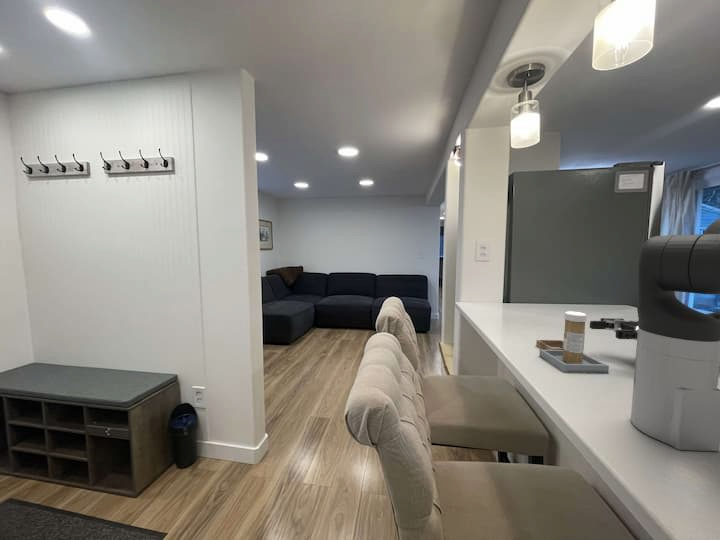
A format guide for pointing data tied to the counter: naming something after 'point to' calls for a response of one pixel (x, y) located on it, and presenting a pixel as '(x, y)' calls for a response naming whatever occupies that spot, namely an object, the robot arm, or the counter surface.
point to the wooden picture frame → (549, 344)
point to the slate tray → (587, 367)
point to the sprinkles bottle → (574, 337)
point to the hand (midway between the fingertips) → (603, 329)
